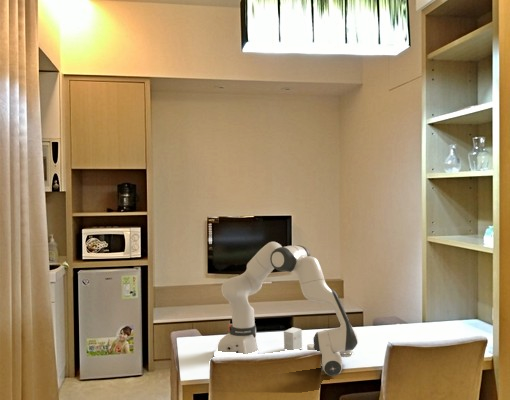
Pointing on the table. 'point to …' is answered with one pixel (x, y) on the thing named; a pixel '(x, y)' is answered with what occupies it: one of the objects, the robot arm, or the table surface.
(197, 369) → the table surface
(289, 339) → the small box
